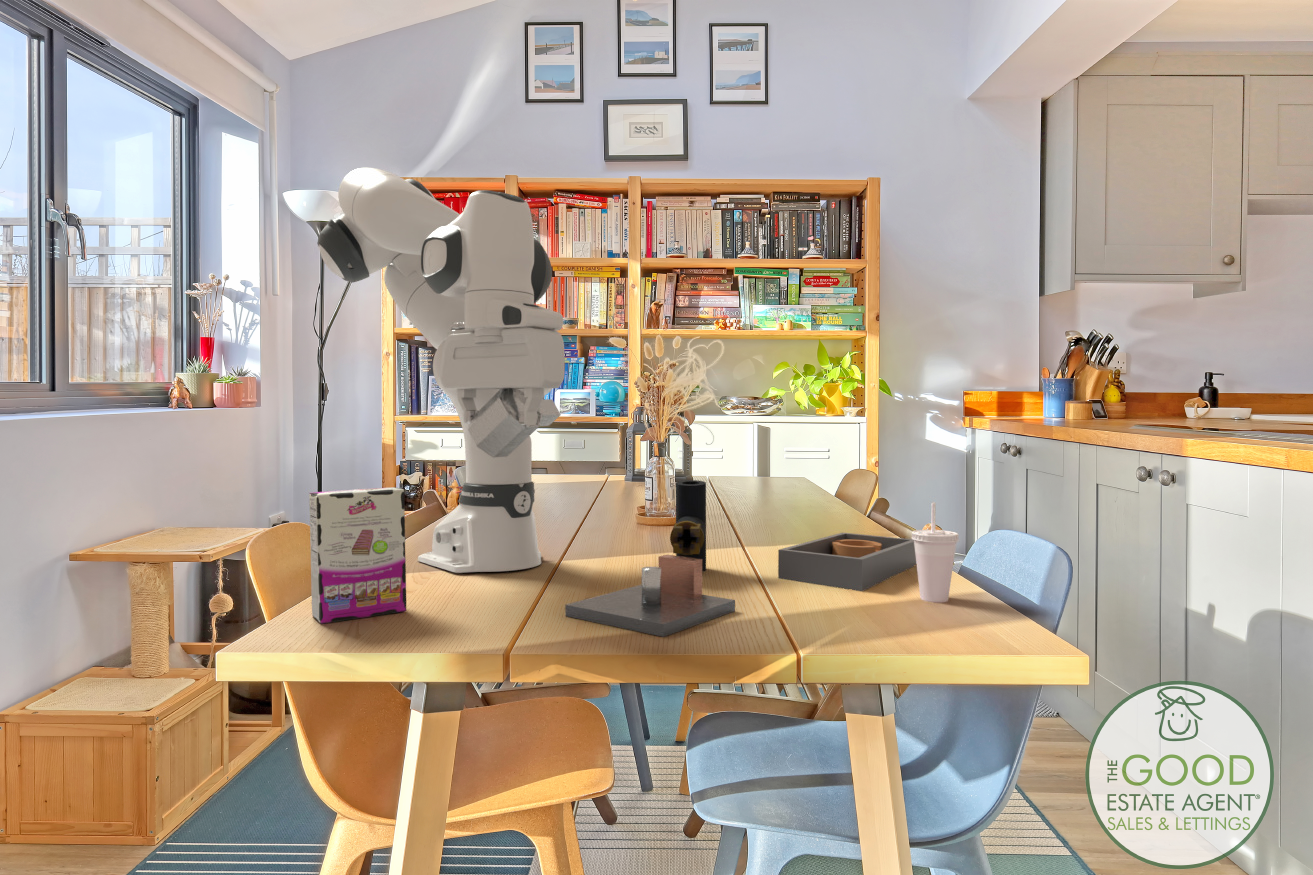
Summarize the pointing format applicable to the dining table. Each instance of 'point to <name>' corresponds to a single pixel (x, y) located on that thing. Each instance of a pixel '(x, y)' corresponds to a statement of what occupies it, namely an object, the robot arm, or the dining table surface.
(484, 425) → the octagonal handled mug
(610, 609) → the grey square stand
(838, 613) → the dining table surface
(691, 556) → the pipe connector
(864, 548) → the brown oblong hollow piece
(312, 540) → the candy bar box
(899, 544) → the parts corral
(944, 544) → the smoothie
